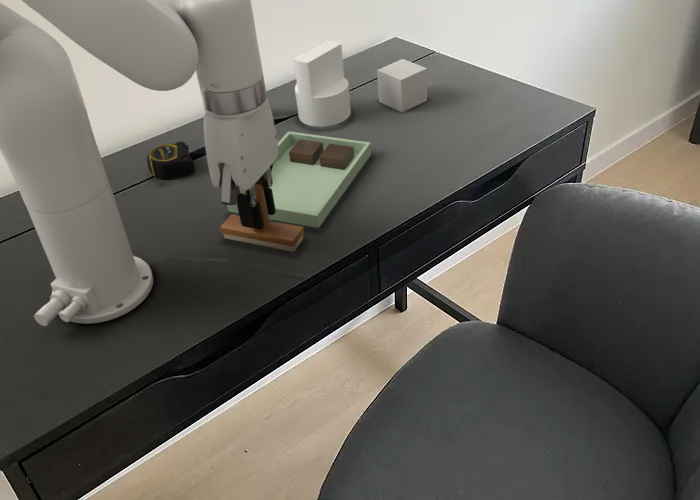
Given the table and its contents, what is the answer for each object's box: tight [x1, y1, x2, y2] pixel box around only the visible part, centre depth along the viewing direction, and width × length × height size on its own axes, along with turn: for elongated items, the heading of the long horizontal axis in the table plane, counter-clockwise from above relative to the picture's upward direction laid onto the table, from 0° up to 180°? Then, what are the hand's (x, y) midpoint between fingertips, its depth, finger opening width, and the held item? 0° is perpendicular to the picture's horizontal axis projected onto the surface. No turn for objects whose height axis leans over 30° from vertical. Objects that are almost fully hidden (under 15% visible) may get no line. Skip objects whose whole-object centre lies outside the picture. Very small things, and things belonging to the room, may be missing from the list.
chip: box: [319, 144, 354, 170], centre depth 114 cm, size 4×4×2 cm
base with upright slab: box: [293, 39, 352, 128], centre depth 125 cm, size 9×9×12 cm
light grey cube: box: [376, 58, 428, 113], centre depth 129 cm, size 6×6×6 cm
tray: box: [226, 131, 372, 229], centre depth 111 cm, size 20×14×3 cm
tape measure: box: [146, 140, 196, 181], centre depth 117 cm, size 7×7×4 cm
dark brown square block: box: [289, 140, 324, 165], centre depth 116 cm, size 4×4×2 cm
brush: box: [219, 184, 305, 252], centre depth 99 cm, size 3×11×8 cm, turn 67°
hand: (258, 218), depth 99 cm, fingers closed on brush, 2 cm apart
